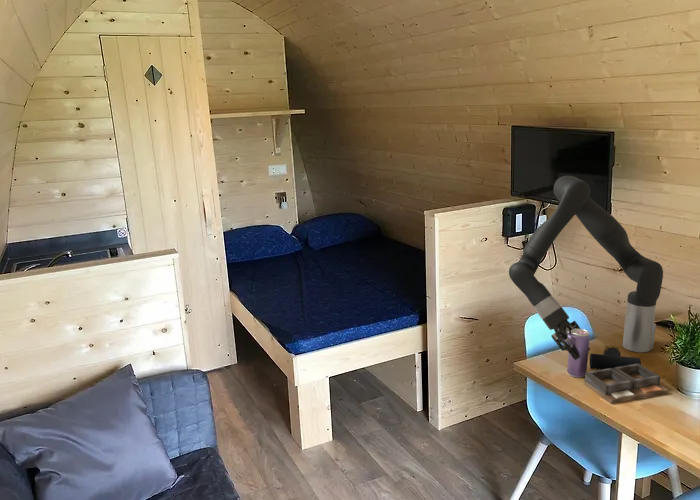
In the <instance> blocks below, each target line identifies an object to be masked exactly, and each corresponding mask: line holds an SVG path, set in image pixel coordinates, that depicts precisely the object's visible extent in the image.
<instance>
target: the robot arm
mask: <svg viewBox="0 0 700 500" xmlns="http://www.w3.org/2000/svg"><path fill="white" fill-rule="evenodd" d="M553 193H554V196H555V198H556V199H557V200H558V202H559V203H558V205H557V207H556V209H555V210H554V212H553V213H552V214H551V215H550V217H548V218H547V220H545V221H544V222H542V224H540V225H539V226H538V227H537V228H536V230H535V231H534V232H533V233H532V235H531V236H530V238H529V240H528V241H527V243H526V244H525V246H524V249H523V253H522V255H521V257H520V259H519V260H517V262H515V263H513V264H512V265H511V266H510V267H509V270H508V277H509V278H510V281H512V283H513V284H514V285H515V286H516V287H517V288H518V290H520V291H521V292H522V293H523V295H524V296H525V297H526V298H527V299H528V301H529V303H530V304H531V305H532V307H533V308H534V309H535V311H536V313H537V315H538V316H539V317H540V319H541V320H542V321H543V323H544V324H545V325H546V327H547V328H548V329H549V330H550V331H552V330H553V331H554V333H553V334H551V339H552V340H553V341H554V342H555V344H556V345H557V346H558V347H559V348H560V350H561V351H567V352H568V353H570V354H571V356H572V357H573V358H574V360H577V359H578V358H580V355H579V353H578V352H577V351H576V349H575V348H574V347H573V345H572V342H571V341H572V339H571V336H570V333H571V330H572V329H582V328H581V327H580V326H579V324H578V323H577V321H576V320H573V321H571V322H570V321H568V320H569V319H570V316H569V314H568V313H567V312H566V311H565V310H564V308H563V307H562V306H561V304H560V303H559V301H558V300H557V299H556V298H555V297H554V296H553V295H552V294H551V293H550V291H549V290H548V289H547V287H546V286H545V285H544V283H542V282H540V280H538V279H537V277H536V276H535V273H536V272H537V270H538V268H539V267H540V264H541V261H542V260H543V258H544V257H545V255H547V253H548V251H549V249H550V248H551V246H552V245H553V243H554V241H555V240H556V239H557V237H558V236H559V235H560V233H561V232H562V231H563V229H565V227H566V226H567V225H568V223H569V222H571V220H572V219H573V217H574V216H576V217H577V219H578V220H579V221H580V223H581V224H582V225H583V227H584V228H585V229H586V230H587V232H588V233H589V234H590V235H591V236H592V238H593V239H594V240H595V241H596V242H597V243H598V244H599V246H601V247H602V248H603V249H604V250H605V251H606V252H607V253H608V254H609V255H610V256H611V257H612V258H614V260H615V261H616V262H617V264H618V265H619V267H620V268H621V270H622V271H623V272H624V273H625V275H626V276H627V277H628V278H629V279H630V280H631V281H633V282H635V283H636V288H635V290H633V291H630V292H629V293H628V294H627V300H626V309H625V317H624V318H625V319H624V328H623V337H622V338H623V339H622V347H623V348H624V349H626V350H628V351H631V352H636V353H649V352H650V351H651V350H653V349H654V344H655V335H656V328H657V324H656V323H655V317H656V308H657V307H656V306H657V301H658V300H659V297H660V296H661V289H662V285H663V280H664V269H663V266H662V265H661V264H660V263H659V262H657V261H656V260H653V259H650V258H648V257H646V256H644V255H642V254H641V253H640V252H638V251H637V250H636V249H635V248H634V247H633V245H632V244H631V242H630V240H629V236H628V233H627V231H626V229H625V228H624V227H623V226H622V225H621V223H620V222H619V221H618V220H617V219H616V218H615V217H614V216H613V215H612V214H611V213H609V212H608V211H607V210H606V209H605V208H603V207H602V206H601V205H600V204H598V203H596V201H594V200H593V198H591V197H590V195H591V188H590V185H589V184H588V183H587V182H586V181H584V180H582V179H581V178H578V177H576V176H574V175H563V176H561V177H559V178H557V179H556V180H555V182H554V185H553ZM589 351H591V347H589V350H588V352H589Z"/></svg>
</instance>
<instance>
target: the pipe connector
mask: <svg viewBox="0 0 700 500" xmlns="http://www.w3.org/2000/svg"><path fill="white" fill-rule="evenodd" d="M632 364H640V365H642V360H641V358H640V357H633V356H632V357H631V356H621V351H620V349H619V346H610V345H605V346H604V349H603V354H599V353H590V354H589V368H590V369H592V370H593V369H594V370H602V369H608V368H612V369H613V368H614V367H620V366H626V365H632Z"/></svg>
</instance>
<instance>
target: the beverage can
mask: <svg viewBox="0 0 700 500" xmlns="http://www.w3.org/2000/svg"><path fill="white" fill-rule="evenodd" d="M570 336H571V339H572V341H571V342H572V345H573V347H574V348H575V349H576V351H577V352H578V353H579V355H580V358H578V359H577V360H574V358H573V357H572V356H571V354H570V353H569V352H568V353H567V354H568V355H567V356H568V357H567V365H566V366H567V368H566V371H567V374H568V375H569V376H570V377H573V378H577V379H579V378H585V374H586V372H588V371H587V370H588V362H589V361H588V360H589V351H590V350H589V348H590V339H591V338H590V331H588V330H587V329H584V328H581V329H576V328H575V329H572V330H571V333H570ZM588 350H589V351H588Z"/></svg>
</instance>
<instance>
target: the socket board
mask: <svg viewBox="0 0 700 500" xmlns="http://www.w3.org/2000/svg"><path fill="white" fill-rule="evenodd" d="M661 379H662V378H661V375H658V374H657V373H655V372H654V371H651V370H650V368H649V369H648V368H647V367H645V366H644V365H642V364H641V365H640V364H632V365H626V366H620V367H614V368H613V369H612V368H608V369H602V370H600V369H595V370H591V371H587V372H586V374H585V376H584V380H583V385H584V386H586V387H587V388H588V389H590V391H592V392H594V393H595V394H597V395H598V396H599V397H600V398H602V399H604V400H605V401H606V402H608V403H609V404H611V405H612V404H613V405H614V404H618V403H619V404H620V403H625V402H629V401H634V400H635V401H636V400H639V399H640V400H641V399H644V398H645V399H646V398H651V397H656V396H662V395H666V394H669V389H668V388H666V387H664V386H662V385H661Z"/></svg>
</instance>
